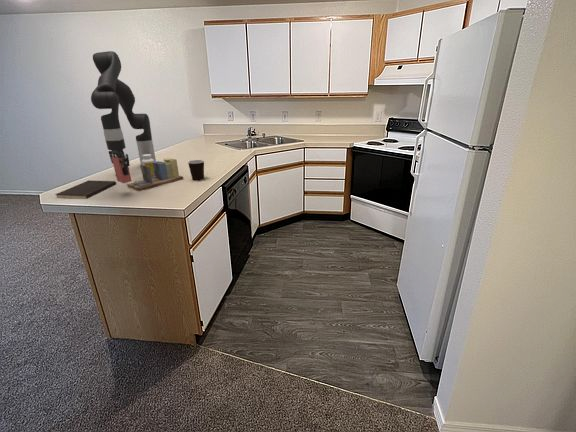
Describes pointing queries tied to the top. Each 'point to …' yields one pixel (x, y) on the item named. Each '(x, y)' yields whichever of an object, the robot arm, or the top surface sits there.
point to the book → (120, 171)
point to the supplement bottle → (148, 163)
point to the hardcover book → (86, 189)
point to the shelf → (158, 175)
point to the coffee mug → (197, 169)
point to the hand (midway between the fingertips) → (122, 173)
